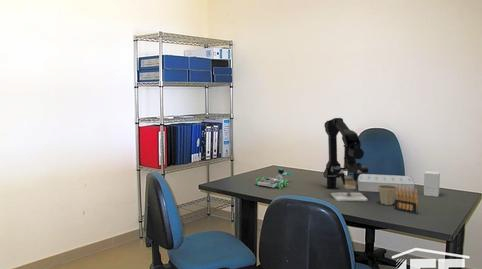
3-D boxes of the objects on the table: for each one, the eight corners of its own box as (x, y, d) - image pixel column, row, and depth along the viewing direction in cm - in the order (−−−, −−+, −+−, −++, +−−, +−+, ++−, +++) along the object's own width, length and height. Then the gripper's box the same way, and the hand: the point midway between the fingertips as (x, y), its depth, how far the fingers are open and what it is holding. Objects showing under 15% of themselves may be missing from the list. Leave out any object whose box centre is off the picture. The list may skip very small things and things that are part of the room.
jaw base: (331, 194, 230) (331, 187, 229) (360, 194, 230) (360, 187, 230) (336, 200, 217) (336, 193, 216) (367, 200, 217) (367, 193, 217)
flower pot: (373, 202, 214) (373, 185, 213) (388, 200, 217) (388, 184, 216) (385, 206, 205) (386, 189, 204) (400, 205, 208) (401, 188, 207)
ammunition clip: (417, 213, 194) (419, 188, 193) (416, 214, 193) (417, 188, 192) (395, 208, 202) (396, 184, 200) (394, 209, 200) (395, 185, 199)
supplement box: (439, 194, 231) (440, 171, 229) (438, 197, 224) (439, 174, 223) (424, 192, 234) (425, 170, 233) (423, 195, 228) (424, 172, 227)
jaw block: (342, 185, 226) (342, 178, 226) (351, 185, 226) (352, 178, 226) (346, 188, 219) (346, 181, 219) (355, 188, 219) (355, 181, 219)
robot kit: (299, 183, 260) (300, 168, 259) (277, 190, 240) (277, 174, 239) (275, 179, 271) (275, 165, 270) (251, 186, 252) (251, 171, 251)
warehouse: (358, 191, 239) (358, 178, 238) (357, 186, 253) (358, 173, 252) (414, 194, 232) (414, 181, 231) (410, 188, 246) (411, 176, 245)
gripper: (335, 158, 213) (335, 188, 215) (372, 158, 213) (371, 188, 215) (330, 155, 224) (330, 184, 226) (365, 155, 224) (364, 183, 226)
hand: (349, 185), depth 223 cm, fingers closed on jaw block, 5 cm apart
